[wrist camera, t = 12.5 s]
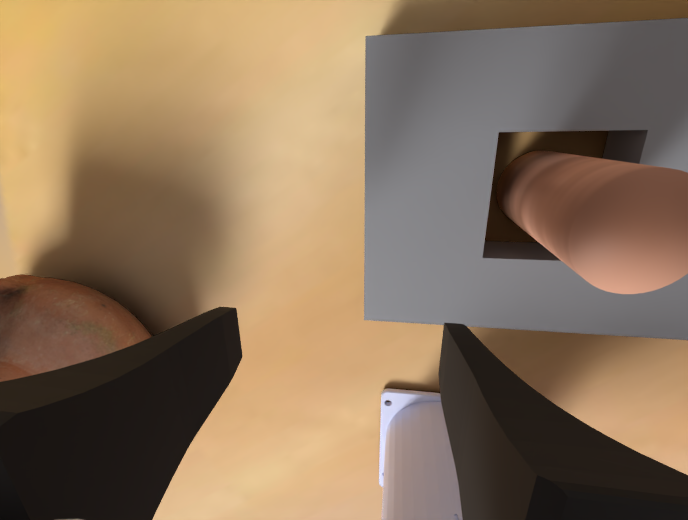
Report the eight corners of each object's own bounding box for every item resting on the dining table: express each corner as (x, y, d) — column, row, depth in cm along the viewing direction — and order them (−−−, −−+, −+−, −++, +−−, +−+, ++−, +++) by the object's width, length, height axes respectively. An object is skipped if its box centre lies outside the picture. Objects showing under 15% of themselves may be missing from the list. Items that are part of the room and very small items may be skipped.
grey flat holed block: (680, 313, 20) (725, 342, 17) (368, 296, 23) (364, 319, 20) (782, 29, 15) (867, 7, 12) (371, 50, 18) (365, 36, 15)
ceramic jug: (208, 436, 30) (55, 681, 16) (63, 426, 32) (-173, 633, 19) (153, 231, 24) (-161, 359, 10) (-22, 237, 26) (-455, 348, 13)
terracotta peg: (567, 225, 19) (693, 297, 11) (492, 223, 20) (557, 291, 12) (583, 150, 18) (741, 167, 10) (501, 150, 19) (584, 167, 10)
